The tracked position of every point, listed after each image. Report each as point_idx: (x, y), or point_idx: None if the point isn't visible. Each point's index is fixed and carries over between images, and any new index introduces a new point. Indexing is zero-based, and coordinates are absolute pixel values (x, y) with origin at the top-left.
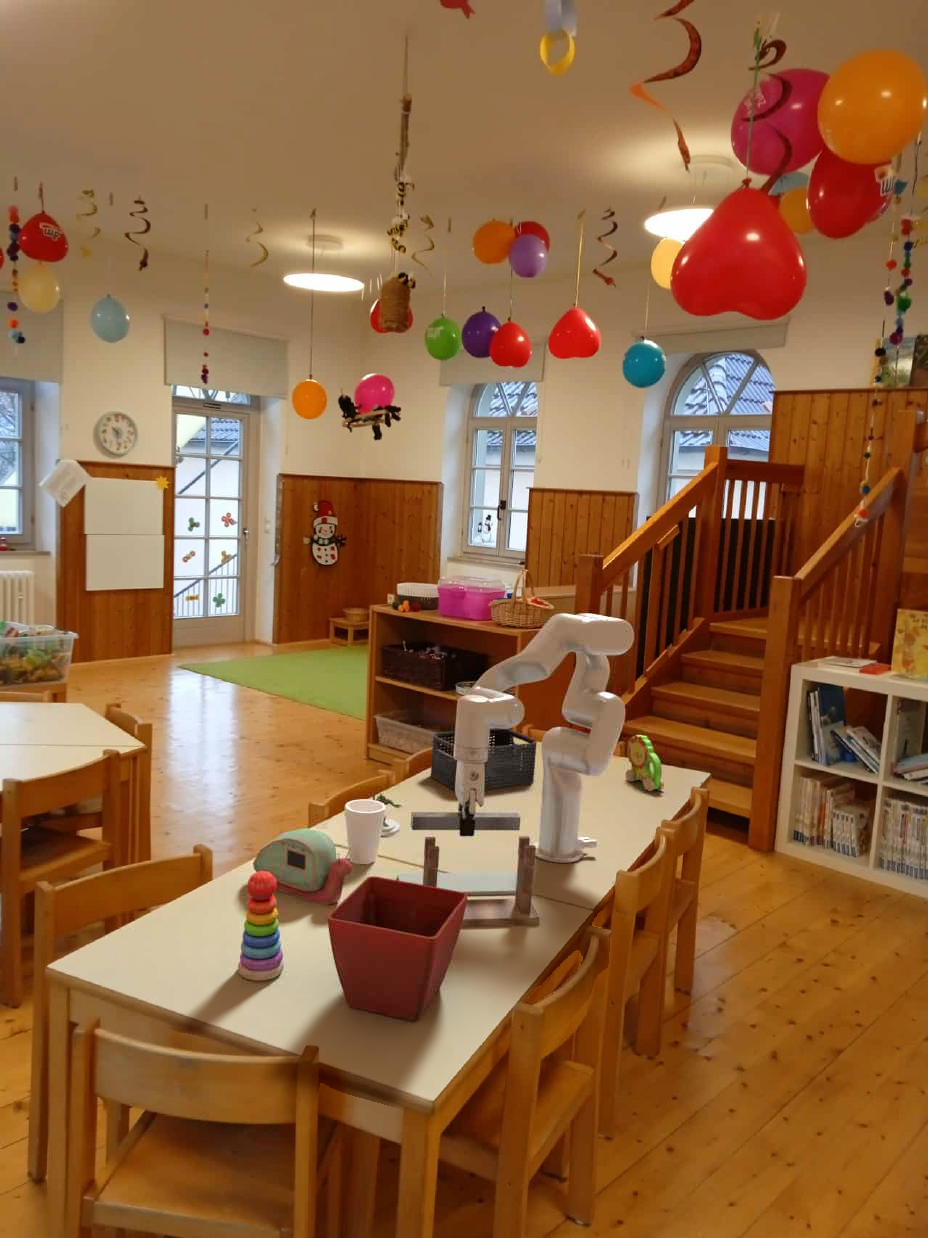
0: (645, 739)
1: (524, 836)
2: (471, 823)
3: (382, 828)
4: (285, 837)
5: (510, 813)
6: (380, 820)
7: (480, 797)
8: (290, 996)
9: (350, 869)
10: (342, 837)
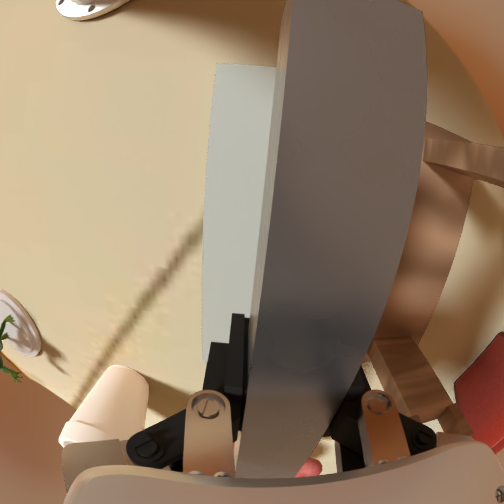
0: None
1: None
2: (367, 385)
3: (20, 326)
4: None
5: (320, 33)
6: (120, 440)
7: (498, 498)
8: (436, 423)
9: (320, 465)
10: (57, 375)
